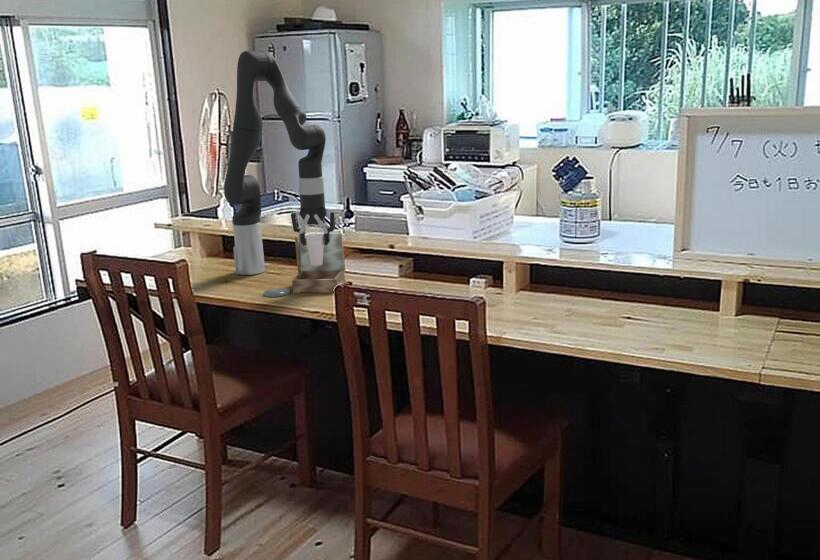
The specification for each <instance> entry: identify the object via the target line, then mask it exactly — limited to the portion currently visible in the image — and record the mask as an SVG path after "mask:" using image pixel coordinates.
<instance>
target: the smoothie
mask: <svg viewBox="0 0 820 560" xmlns="http://www.w3.org/2000/svg"><path fill="white" fill-rule="evenodd" d="M314 228H315V231H312V232H311V231H310V232H305V233H306V234H305V238H306V242H307V247H308V253H309V258H310V263H311V265H313V266H318V265H322V264H323V249H324V231H323V232H322V231H318V225H315V224H314Z"/></svg>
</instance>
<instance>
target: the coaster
mask: <svg viewBox="0 0 820 560" xmlns="http://www.w3.org/2000/svg"><path fill="white" fill-rule="evenodd" d="M290 294H291V291H290V289H289V288H284V287H280V288H272V289H271V288H270V289H268V290H265V291H264V292H263V295H264V297H267V298H279V297H285V296H287V295H290Z"/></svg>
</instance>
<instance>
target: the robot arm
mask: <svg viewBox="0 0 820 560" xmlns="http://www.w3.org/2000/svg"><path fill="white" fill-rule="evenodd" d="M236 66H237V67H236V100H235V101H236V102H235V109H234V117H233V127H232V138H231V145H230V146H231V147H230V154H229V160H228V165H227V171H226V175H225V178H224V184H223V193H224V198H225V201H227V203H228V204H229V205H233V206H239V205H241V208H239V210H238V211H237V212H235V214H233V215H232V217H231V218H232V228H233V229H232V230H233V237H234V246H233V249H232V250H233V259H234V265H235V266H234V267H235V274H236V275H243V276H251V275H259V274H262V273H264V272H265V271H266V267H265V265H266V264H265V255H264V245H263V235H262V234H263V233H262V226H261V225H262V223H261V215H262V199H261V198H262V197H261V187H260V184H259V180H258V179H257V178H256V177H255V176H254V175H252V174H246V170H247V166H248V164H249V162H250V161H251V159H252V157H253V156H254V154H256V152H257V150H258V148H259V147H260V143H261V140H262V135H263V124H264V123H263V118H262V115H261V114H260V113H261V112H260V110H259V109H258V107H257V104H256V102H255V99H254V87H255V85H254V84H255V82H266V83H268V85H270V87H271V88H272V90H273V107H274V110H275V111H276V113H277V116H278V117H279V119H280V120H281V121H282V123H283V124H284V126H285V128H286V131H287V134H288V137H289V140H290V143H291V145H292V146H293V148H295V149H296V150H300V151H306V150H307V154H306V156H303V157H301V158H299V160H298V165H297V166H298V177H299V178H298V192H299V203H300V204H299V205H300V211H293V212H292V213H290V217H291V218H290V219H291V223H292V229H293V232H295V233H298V234H300V241H301V244H303V245H306V238H305V234H306V233H307V232H306V229H307V227H308V226H309V225H310V226H311V225H314V226H315V225H317V226H318V225H319V227H320V228H321V229H322V231H323V233H324V244H325V245H328V243H329V242H330V234H329V233H332V232H333V231H335V229H336V219H337V218H336V216H337V215H336V214H337V213H336V211H335V210H332V211H328V210H327V208H326V203H325V202H326V200H325V197H326V196H325V186H324V185H325V184H324V179H323V168H322V167H323V166H322V161H323V157H324V154H325V153H324V152H325V151H324V150H325V148H326V140H327V139H326V134H325V131H324V129H323V128H322V126H321V125H318V124H311V125H304V124H305V123H306V122H307V114H306V112H305V111H304V110H303V108H302V107H301V105H300V103H299V102H298V101H297V99H296V98H295V97H294V95H293V94H292V92H291V90H290V87H289V85H288V83H287V81H286V78H285V77H284V74H283V72H282V70H281V69H280V66H279V64H278V62H277V60H276V59H275V56H274V55H273V54H272V53H271V52H269V51H266V50H244V51H242V52H241V53H240V55H239V57H238V59H237V65H236ZM245 174H246V175H245ZM300 217H301V218H302V220H303V222H302V224H301V227H300V226H299V218H300ZM325 217H327V218H328V219H329V226H328V225H327V222H326V221H325Z"/></svg>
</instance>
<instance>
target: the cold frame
mask: <svg viewBox="0 0 820 560" xmlns="http://www.w3.org/2000/svg"><path fill="white" fill-rule="evenodd" d="M329 234H330V242H329V243H328V245H325V244H324V249H323V264H322V265H318V266H313V265H311V263H310V258H309V253H308V247H307V242H306V245H303V244H301V241H300V233H298V236H295V237H294V241H295V243H294V244H295V254H296V262H297V275H296V276H295V277H294V278H293V279H292V280H291V285H292V293H293V294H301V293H300V292H319V293H334V292H333V289H334V287H335V286H336V285H338V284H340V283H343V282H345V283H346V278H345V269H346V268H345V257H344V255H345V254H344V246H343V244H344V243H343V233H342V232H330V233H329Z"/></svg>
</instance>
